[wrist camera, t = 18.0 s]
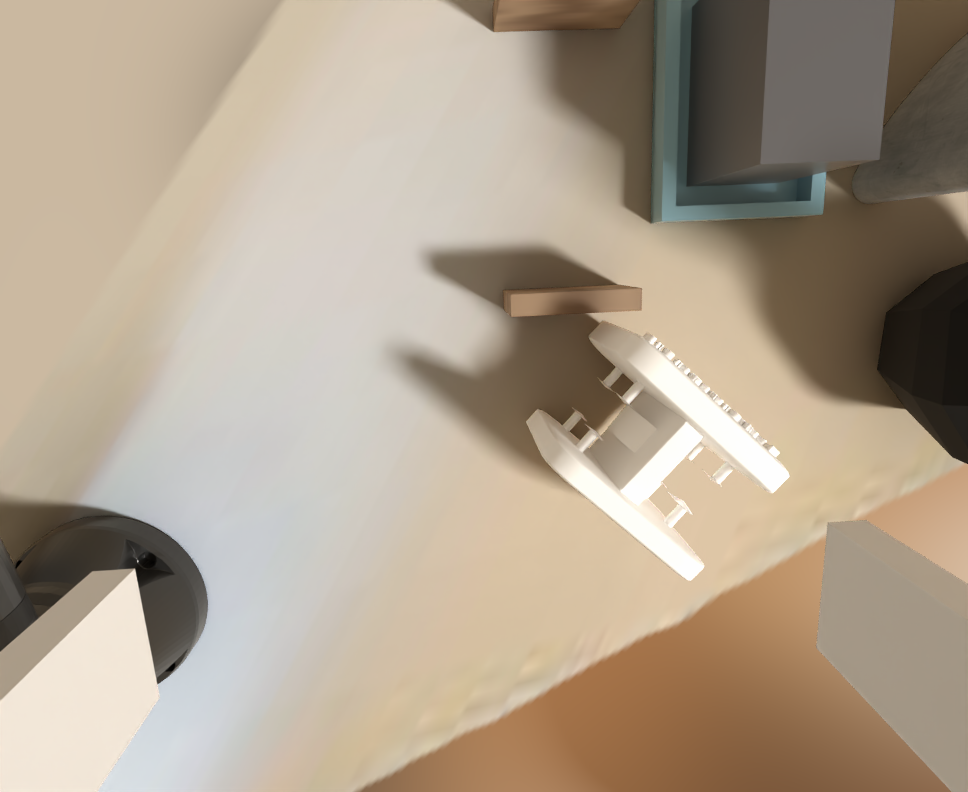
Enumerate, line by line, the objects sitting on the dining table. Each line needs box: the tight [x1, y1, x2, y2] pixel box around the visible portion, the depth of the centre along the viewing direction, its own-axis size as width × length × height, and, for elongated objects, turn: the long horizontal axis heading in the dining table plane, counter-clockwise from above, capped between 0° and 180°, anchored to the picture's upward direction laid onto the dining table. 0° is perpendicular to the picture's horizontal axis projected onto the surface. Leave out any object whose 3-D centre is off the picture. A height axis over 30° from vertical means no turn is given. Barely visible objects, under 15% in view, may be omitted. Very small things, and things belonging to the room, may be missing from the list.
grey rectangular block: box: [686, 0, 895, 187], centre depth 38 cm, size 7×12×11 cm, turn 2°
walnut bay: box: [493, 0, 642, 317], centre depth 42 cm, size 9×21×6 cm, turn 2°
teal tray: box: [651, 0, 826, 223], centre depth 43 cm, size 12×17×2 cm
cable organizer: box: [526, 321, 790, 581], centre depth 44 cm, size 15×11×12 cm
